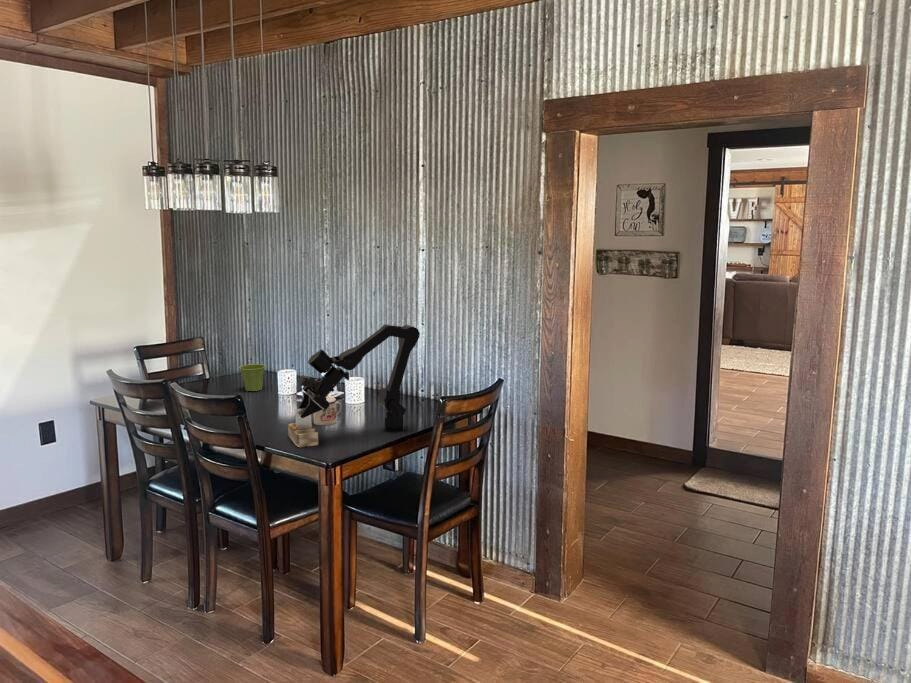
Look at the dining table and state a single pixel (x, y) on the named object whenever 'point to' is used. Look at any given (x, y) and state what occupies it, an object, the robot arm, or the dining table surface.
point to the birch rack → (302, 436)
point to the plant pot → (252, 376)
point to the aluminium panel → (302, 420)
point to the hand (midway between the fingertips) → (299, 415)
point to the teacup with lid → (327, 413)
